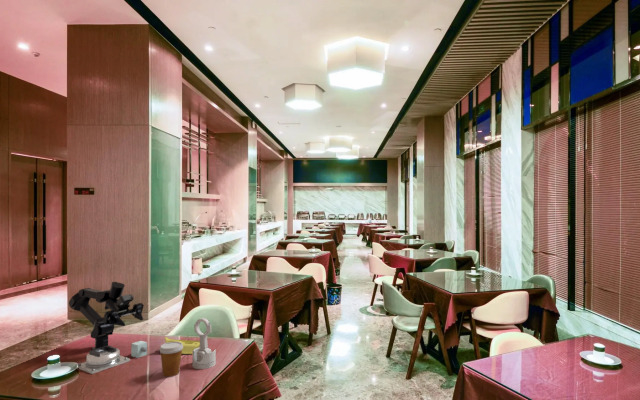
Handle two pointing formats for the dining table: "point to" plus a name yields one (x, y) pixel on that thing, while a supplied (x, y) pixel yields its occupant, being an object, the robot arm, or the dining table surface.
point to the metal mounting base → (102, 359)
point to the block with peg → (139, 349)
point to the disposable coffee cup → (171, 358)
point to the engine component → (203, 348)
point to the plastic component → (186, 345)
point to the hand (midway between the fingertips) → (133, 322)
